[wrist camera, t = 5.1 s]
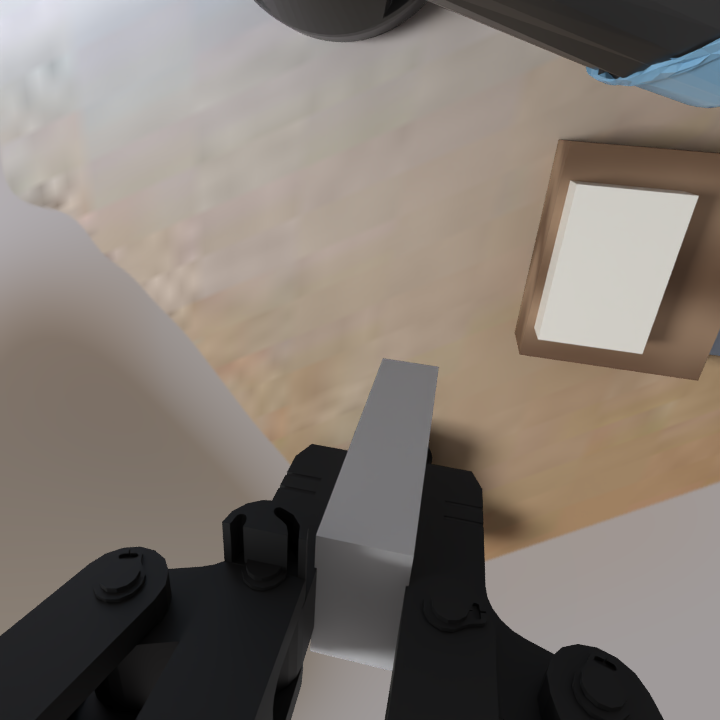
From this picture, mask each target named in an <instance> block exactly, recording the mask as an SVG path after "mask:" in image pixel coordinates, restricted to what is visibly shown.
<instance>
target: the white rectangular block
mask: <svg viewBox="0 0 720 720" xmlns="http://www.w3.org/2000/svg"><path fill="white" fill-rule="evenodd" d="M698 197H699V196H698V195H694V194H691V193H688V192H684V191H675V190H664V189H654V188H643V187H633V186H622V185H612V184H601V183H591V182H581V181H570V184H569V188H568V192H567V196H566V200H565V204H564V208H563V212H562V216H561V220H560V224H559V229H558V233H557V237H556V241H555V245H554V249H553V253H552V257H551V261H550V265H549V269H548V273H547V277H546V282H545V286H544V290H543V294H542V298H541V302H540V306H539V310H538V314H537V318H536V322H535V326H534V329H535V332H536V335H537V338H538V339H539V340H546V341H553V342H560V343H567V344H574V345H581V346H588V347H595V348H602V349H609V350H617V351H624V352H631V353H638V354H643V351H644V348H645V345H646V343H647V340H648V337H649V334H650V331H651V329H652V326H653V323H654V320H655V317H656V315H657V312H658V309H659V306H660V303H661V301H662V298H663V295H664V292H665V289H666V287H667V284H668V281H669V278H670V275H671V272H672V270H673V267H674V264H675V261H676V258H677V256H678V253H679V250H680V247H681V244H682V242H683V239H684V236H685V233H686V230H687V228H688V225H689V222H690V219H691V216H692V214H693V211H694V208H695V205H696V202H697V200H698Z"/></svg>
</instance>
